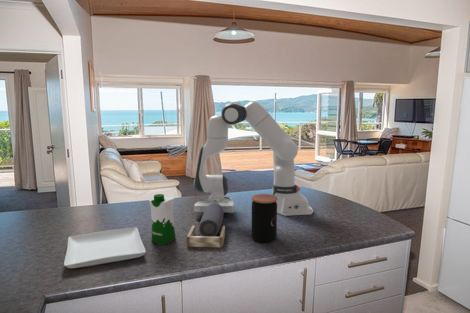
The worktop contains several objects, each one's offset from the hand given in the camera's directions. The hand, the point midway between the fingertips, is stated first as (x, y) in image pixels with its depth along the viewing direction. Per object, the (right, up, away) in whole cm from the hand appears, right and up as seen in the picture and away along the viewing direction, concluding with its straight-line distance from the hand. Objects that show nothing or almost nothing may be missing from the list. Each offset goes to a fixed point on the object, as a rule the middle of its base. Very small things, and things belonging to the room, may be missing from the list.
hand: (212, 212), depth 157 cm
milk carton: (-19, -8, -21) cm, 29 cm away
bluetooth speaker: (+1, -7, -11) cm, 13 cm away
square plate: (-40, -11, -30) cm, 51 cm away
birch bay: (-1, -8, -20) cm, 22 cm away
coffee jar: (+23, -8, -19) cm, 31 cm away
